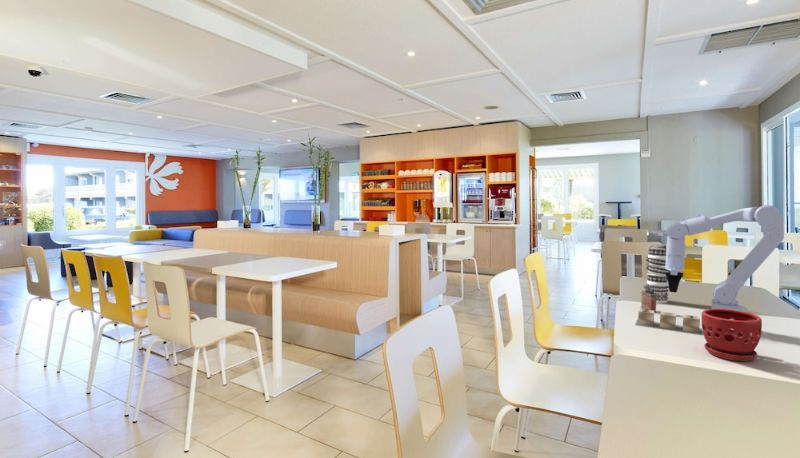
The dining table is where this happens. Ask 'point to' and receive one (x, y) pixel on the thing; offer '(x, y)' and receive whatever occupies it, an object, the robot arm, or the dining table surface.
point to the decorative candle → (657, 272)
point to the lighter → (648, 299)
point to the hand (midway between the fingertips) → (673, 291)
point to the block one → (691, 323)
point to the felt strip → (678, 329)
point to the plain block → (668, 320)
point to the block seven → (646, 317)
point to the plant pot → (731, 333)
